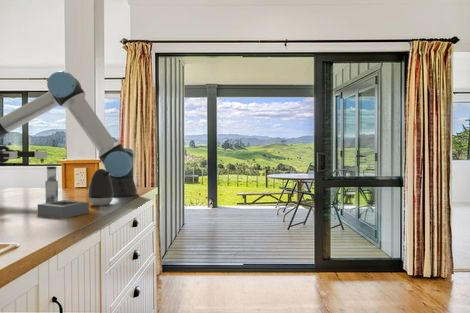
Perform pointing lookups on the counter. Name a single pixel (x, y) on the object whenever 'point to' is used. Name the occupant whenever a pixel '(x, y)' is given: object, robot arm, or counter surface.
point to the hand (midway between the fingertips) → (31, 155)
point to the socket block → (63, 209)
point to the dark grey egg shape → (100, 188)
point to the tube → (51, 185)
